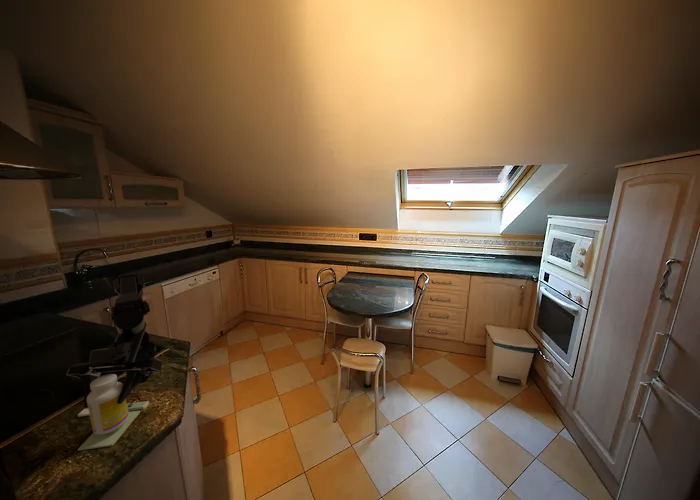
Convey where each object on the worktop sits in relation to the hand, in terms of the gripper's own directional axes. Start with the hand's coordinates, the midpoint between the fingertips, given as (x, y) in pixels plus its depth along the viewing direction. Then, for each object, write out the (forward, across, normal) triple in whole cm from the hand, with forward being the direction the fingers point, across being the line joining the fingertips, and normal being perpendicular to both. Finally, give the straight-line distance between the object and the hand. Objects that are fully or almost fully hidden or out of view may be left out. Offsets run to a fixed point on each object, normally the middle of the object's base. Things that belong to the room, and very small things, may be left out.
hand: (103, 405), depth 59 cm
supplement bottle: (+4, 0, +6) cm, 7 cm away
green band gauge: (+4, -4, +8) cm, 10 cm away
